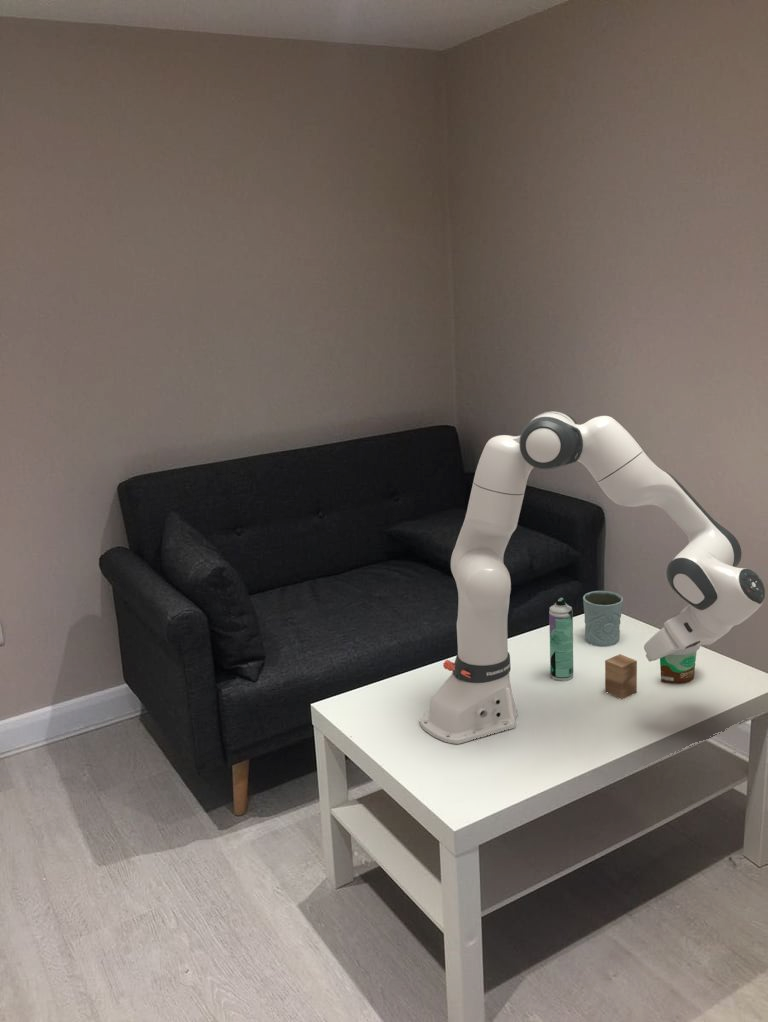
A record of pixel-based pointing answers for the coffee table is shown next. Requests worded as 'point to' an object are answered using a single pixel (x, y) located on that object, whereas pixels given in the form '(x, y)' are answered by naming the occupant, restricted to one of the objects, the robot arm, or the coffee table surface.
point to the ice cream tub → (679, 666)
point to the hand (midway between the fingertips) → (664, 651)
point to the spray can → (561, 641)
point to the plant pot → (602, 617)
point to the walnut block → (621, 676)
